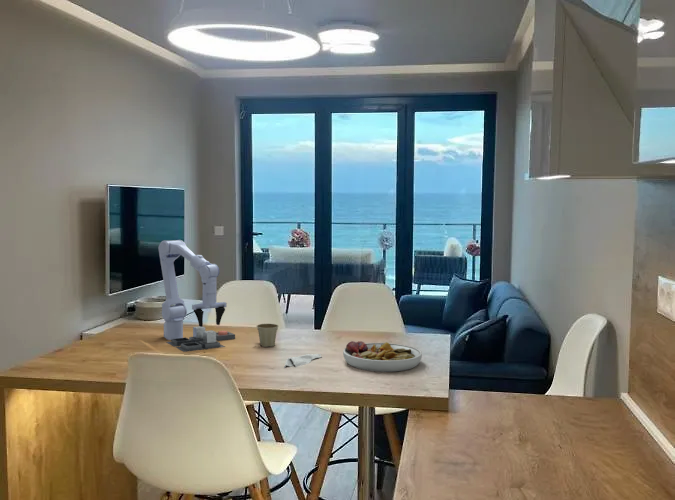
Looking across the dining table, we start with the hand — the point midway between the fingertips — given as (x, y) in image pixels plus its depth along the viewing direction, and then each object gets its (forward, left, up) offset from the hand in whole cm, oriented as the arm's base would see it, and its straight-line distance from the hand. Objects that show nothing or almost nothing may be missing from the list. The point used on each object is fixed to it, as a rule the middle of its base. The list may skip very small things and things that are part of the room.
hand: (209, 325), depth 263 cm
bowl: (+59, +45, -10) cm, 75 cm away
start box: (-10, +11, -9) cm, 17 cm away
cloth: (+39, +21, -10) cm, 46 cm away
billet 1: (-10, 0, -8) cm, 13 cm away
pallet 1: (-10, -4, -9) cm, 14 cm away
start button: (-10, +11, -8) cm, 16 cm away
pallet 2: (+1, -4, -9) cm, 10 cm away
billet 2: (+1, 0, -8) cm, 8 cm away
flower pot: (+9, +23, -10) cm, 26 cm away
